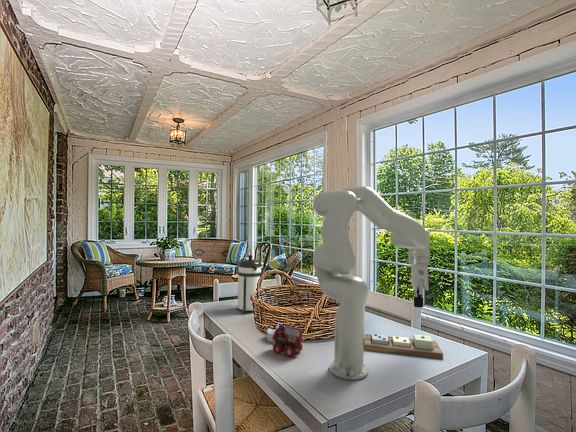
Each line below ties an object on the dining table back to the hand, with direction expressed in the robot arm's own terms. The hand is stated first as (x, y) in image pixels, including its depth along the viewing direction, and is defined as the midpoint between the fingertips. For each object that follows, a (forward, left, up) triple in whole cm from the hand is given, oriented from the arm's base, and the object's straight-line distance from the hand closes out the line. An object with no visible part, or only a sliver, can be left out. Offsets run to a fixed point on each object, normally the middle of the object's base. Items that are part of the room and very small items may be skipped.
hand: (418, 306), depth 125 cm
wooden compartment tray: (0, +6, -17) cm, 18 cm away
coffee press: (+29, +82, -17) cm, 89 cm away
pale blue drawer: (0, +14, -16) cm, 22 cm away
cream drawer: (0, +6, -16) cm, 17 cm away
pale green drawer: (0, -2, -15) cm, 15 cm away
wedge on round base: (-5, +53, -17) cm, 56 cm away
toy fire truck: (-17, +48, -17) cm, 54 cm away
